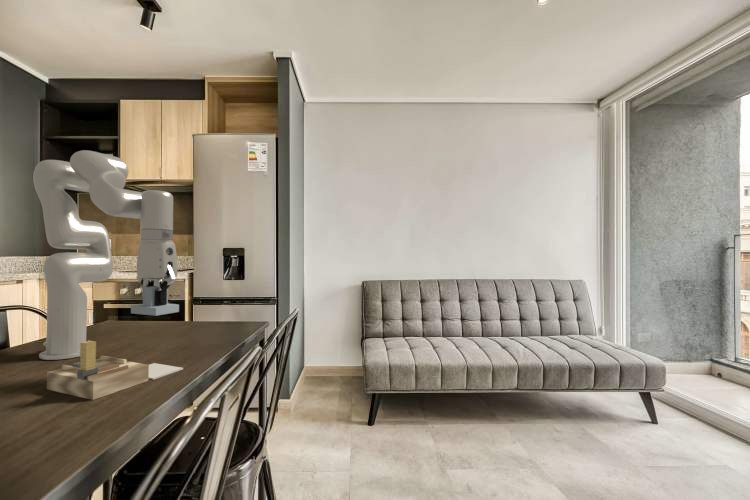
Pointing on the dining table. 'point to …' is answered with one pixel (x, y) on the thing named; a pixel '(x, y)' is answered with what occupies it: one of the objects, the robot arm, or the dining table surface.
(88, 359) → the latch
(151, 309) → the cover
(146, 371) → the tan box base
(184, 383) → the dining table surface
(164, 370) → the mat
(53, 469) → the dining table surface
